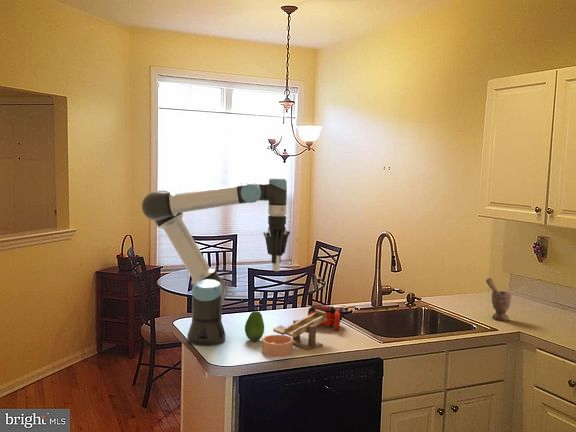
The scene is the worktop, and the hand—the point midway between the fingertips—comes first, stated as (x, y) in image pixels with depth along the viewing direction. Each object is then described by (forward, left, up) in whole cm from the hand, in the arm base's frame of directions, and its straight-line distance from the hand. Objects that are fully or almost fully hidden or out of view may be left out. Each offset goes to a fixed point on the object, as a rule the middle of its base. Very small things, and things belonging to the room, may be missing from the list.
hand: (275, 270), depth 225 cm
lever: (0, -17, -21) cm, 27 cm away
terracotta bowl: (-15, -20, -26) cm, 36 cm away
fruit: (-14, -4, -27) cm, 30 cm away
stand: (-1, -20, -26) cm, 33 cm away
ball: (-17, -20, -24) cm, 36 cm away
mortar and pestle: (+99, -49, -27) cm, 114 cm away
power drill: (+23, -7, -27) cm, 36 cm away
